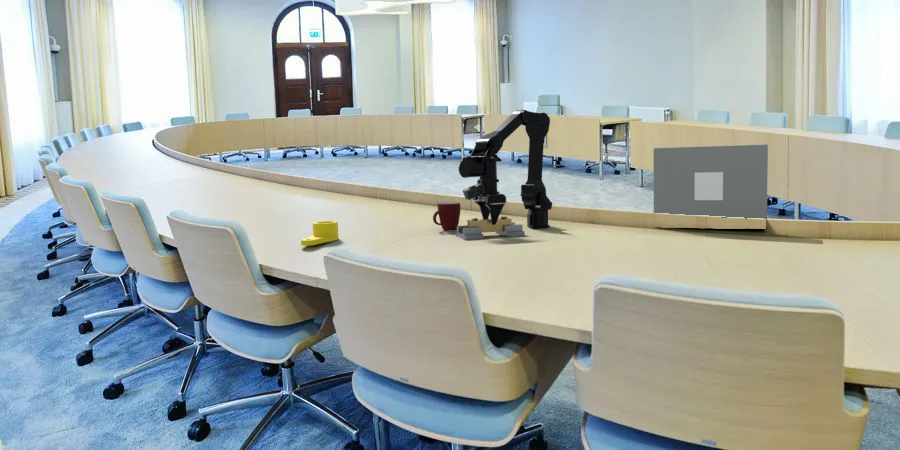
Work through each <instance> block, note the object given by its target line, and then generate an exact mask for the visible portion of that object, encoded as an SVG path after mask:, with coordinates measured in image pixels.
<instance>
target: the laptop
mask: <svg viewBox="0 0 900 450" xmlns="http://www.w3.org/2000/svg"><path fill="white" fill-rule="evenodd" d="M768 152H769V144H746V145H745V144H744V145H742V144H741V145H716V146H715V145H712V146H711V145H710V146H708V145H706V146H681V147H680V146H679V147H678V146H677V147H675V146H674V147H653V214H654V213H669V214H685V215H709V216H726V217H721V218H727V217H744V218H745V219H747V218H764V219H767V220H768V175H769V173H768V172H769V171H768V169H769V167H768V164H769V156H768V155H769V153H768Z"/></svg>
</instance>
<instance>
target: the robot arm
mask: <svg viewBox="0 0 900 450" xmlns="http://www.w3.org/2000/svg"><path fill="white" fill-rule="evenodd" d="M521 125H522V126H524V127H525V133H526V134H527V137H528V140H529V142H528V163H527V165H528V166H527V178H526V179H527V180H526V181H525V183H524V184H521V186H520V197H521V202H522V204H523V207H524V209H525V210H528V213H526V223H527V224H526V226H527V227H530V228H532V229H534V228H535V229H536V228H537V229H538V228H550V227H551V225H550V224H549V211H550V210H552V207H553V201H551V200H550V199H549V197H548V196H547V188H546V186H545V184H544V182H543V163H544V144H545V143H544V141H545V138H546V136H547V134H548V132H549V130H550V125H551V118H550V116H549V114H547V113H545V112H533V111H529V110H526V109H515V110H514V111H512V113H511V115H510V116H508V117H507V118H506V119H505V120H504V121H503V122H502V123H501V124H499V126H498V127H497V128H495V129H494V130H492V132H489V133H487V134H484V135H483V136H481V137H479V138H478V139H477V140H476V141H475V145H474V146H473V149H472V152H471V153H470V155H469V156H467V155H466V156H462V160H461V161H460V163H459V166H458V172H459V173H458V174H459V175H460V176H461V177H462V178H464V179H467V178H478V177H479V178H478V179H477V181H476V184H473V185H471V186H469V187H467V188H463V189H462V193H463V196H464V198H465V200H468V201H469V200H473V202H474V203H475V204H476V205H477V206H478V208H479V209H480V213H481V216H482V217H481V218H482V219H491V222H492V225H495V224H496V222H497V220H498V218H499V217H500V215H501V213H502V210H503V208H504V206H505V204H507V195H505V194H503V193H500V191H498V183H499V182H500V179H499V178H498V174H497V173H498V171H497V170H498V169H497V162H498V163H499V162H502V159H501V158H500V156H498V153H499V152H500V150H501V149H502V148H503V145H504V141H506V139H508V138H509V137H510V136H511V135H512V134H513V133H514V132H515V131H516V130H517V129H519V127H520V126H521Z"/></svg>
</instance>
